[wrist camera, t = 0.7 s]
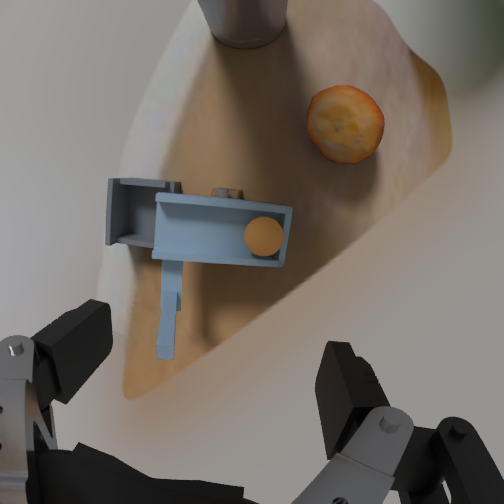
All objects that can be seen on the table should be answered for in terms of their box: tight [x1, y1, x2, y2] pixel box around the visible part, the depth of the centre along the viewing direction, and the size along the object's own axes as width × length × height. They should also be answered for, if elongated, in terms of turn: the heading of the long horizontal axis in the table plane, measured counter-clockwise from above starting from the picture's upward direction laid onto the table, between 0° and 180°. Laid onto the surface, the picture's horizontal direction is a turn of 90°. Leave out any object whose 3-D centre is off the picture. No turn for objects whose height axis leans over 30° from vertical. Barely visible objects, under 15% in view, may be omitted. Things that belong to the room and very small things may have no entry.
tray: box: [106, 178, 180, 248], centre depth 31 cm, size 7×7×5 cm
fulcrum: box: [211, 188, 242, 199], centre depth 31 cm, size 7×3×6 cm, turn 172°
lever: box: [152, 192, 293, 360], centre depth 24 cm, size 11×12×10 cm
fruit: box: [306, 85, 384, 163], centre depth 27 cm, size 8×8×8 cm
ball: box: [244, 217, 284, 256], centre depth 26 cm, size 4×4×4 cm
